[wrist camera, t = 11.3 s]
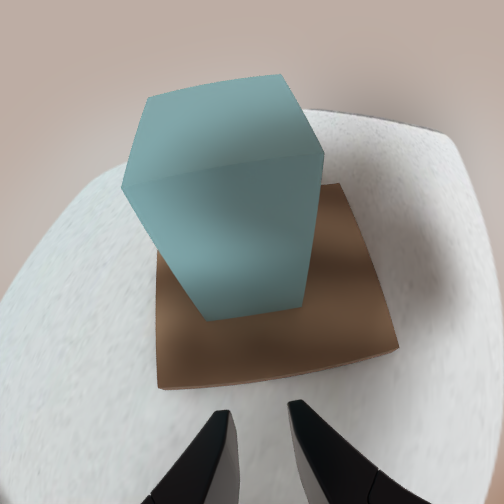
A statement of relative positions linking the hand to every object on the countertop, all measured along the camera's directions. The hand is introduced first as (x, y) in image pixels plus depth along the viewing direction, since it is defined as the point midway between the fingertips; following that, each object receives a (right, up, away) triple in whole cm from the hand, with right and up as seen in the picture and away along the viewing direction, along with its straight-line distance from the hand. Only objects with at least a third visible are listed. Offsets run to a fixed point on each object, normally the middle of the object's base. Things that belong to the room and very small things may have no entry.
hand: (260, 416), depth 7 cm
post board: (+1, +3, +12) cm, 12 cm away
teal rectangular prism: (-1, +3, +11) cm, 12 cm away
